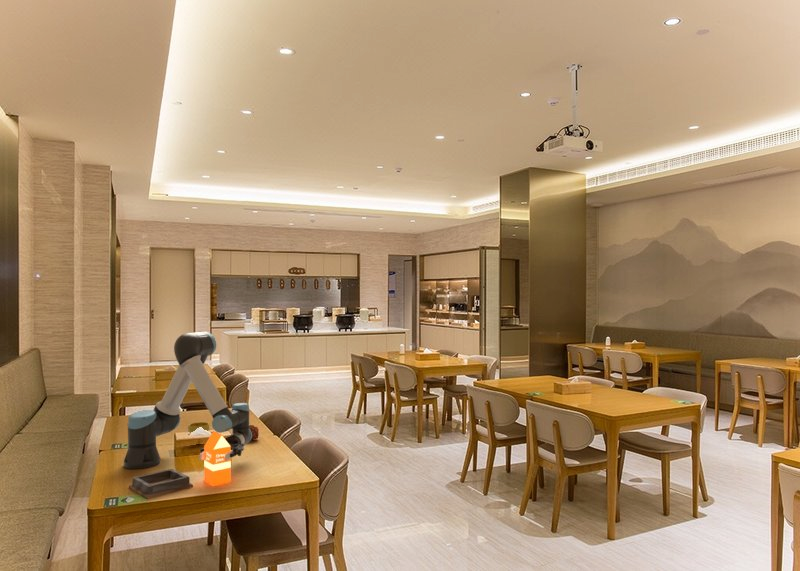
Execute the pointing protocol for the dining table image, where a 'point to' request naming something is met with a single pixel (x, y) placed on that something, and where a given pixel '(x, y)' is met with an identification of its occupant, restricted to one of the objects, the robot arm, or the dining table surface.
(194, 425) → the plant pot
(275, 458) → the dining table surface
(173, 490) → the tray
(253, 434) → the brown bumpy lump
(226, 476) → the orange juice
